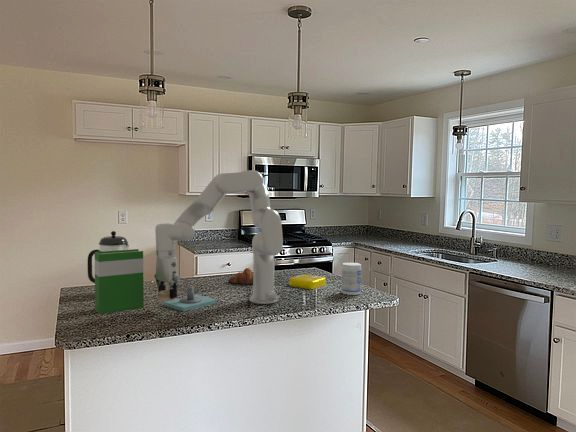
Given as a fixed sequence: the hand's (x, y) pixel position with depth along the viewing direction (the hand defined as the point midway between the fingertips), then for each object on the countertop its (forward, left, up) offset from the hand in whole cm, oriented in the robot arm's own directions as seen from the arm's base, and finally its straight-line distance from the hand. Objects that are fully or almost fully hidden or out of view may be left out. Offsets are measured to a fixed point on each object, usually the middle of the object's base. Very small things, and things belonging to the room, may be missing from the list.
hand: (167, 296), depth 182 cm
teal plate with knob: (+2, -13, -6) cm, 15 cm away
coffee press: (+43, +1, -6) cm, 44 cm away
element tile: (-13, -79, -7) cm, 81 cm away
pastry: (+14, -62, -7) cm, 64 cm away
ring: (0, 0, -1) cm, 1 cm away
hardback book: (+18, +11, -6) cm, 22 cm away
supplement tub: (-40, -79, -6) cm, 89 cm away
